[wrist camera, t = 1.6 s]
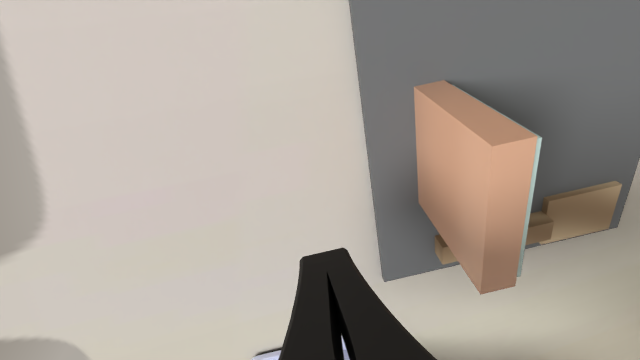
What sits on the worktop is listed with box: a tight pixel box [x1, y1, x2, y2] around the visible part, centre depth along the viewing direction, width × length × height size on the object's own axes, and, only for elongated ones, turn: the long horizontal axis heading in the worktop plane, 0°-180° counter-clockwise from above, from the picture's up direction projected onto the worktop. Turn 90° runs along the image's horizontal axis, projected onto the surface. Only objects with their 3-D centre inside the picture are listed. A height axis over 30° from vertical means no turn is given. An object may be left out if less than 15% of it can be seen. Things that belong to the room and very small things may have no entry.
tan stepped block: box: [435, 181, 622, 265], centre depth 19 cm, size 3×10×1 cm, turn 100°
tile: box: [414, 80, 542, 294], centre depth 14 cm, size 6×2×6 cm, turn 10°
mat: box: [349, 0, 640, 282], centre depth 17 cm, size 16×14×1 cm
